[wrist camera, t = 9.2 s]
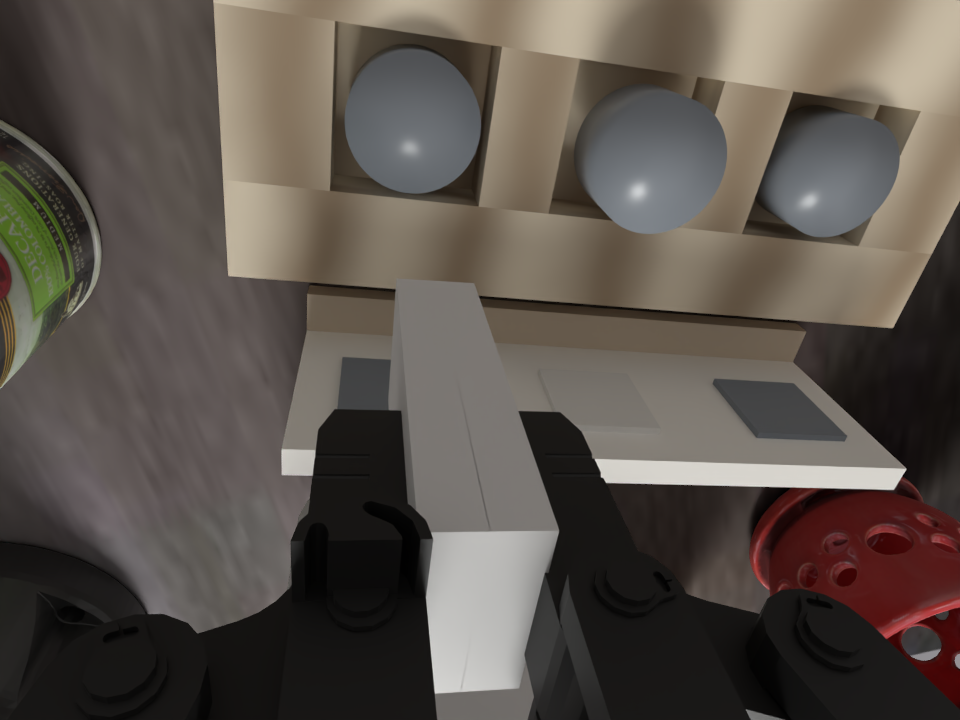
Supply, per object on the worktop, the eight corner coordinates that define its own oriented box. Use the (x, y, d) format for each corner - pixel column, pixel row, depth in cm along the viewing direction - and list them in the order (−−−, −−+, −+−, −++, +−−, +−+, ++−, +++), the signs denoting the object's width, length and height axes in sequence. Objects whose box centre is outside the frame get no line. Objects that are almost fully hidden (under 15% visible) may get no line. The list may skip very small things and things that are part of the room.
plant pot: (939, 434, 41) (1123, 585, 31) (874, 574, 48) (1007, 735, 38) (748, 450, 40) (875, 613, 30) (708, 592, 46) (800, 765, 36)
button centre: (562, 203, 27) (581, 227, 24) (589, 74, 24) (613, 86, 22) (672, 215, 28) (702, 239, 25) (709, 93, 25) (746, 105, 23)
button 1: (734, 210, 30) (766, 231, 28) (773, 98, 28) (812, 110, 25) (827, 220, 31) (866, 242, 29) (873, 112, 29) (921, 126, 26)
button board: (241, 249, 29) (228, 275, 26) (225, -132, 22) (205, -146, 20) (855, 302, 35) (892, 328, 32) (993, 15, 28) (1054, 18, 26)
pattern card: (308, 374, 33) (282, 513, 24) (309, 285, 30) (281, 405, 22) (763, 398, 38) (874, 521, 29) (796, 323, 35) (928, 433, 27)
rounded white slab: (278, 508, 37) (205, 880, 22) (360, 424, 35) (343, 774, 20) (594, 669, 50) (689, 979, 34) (670, 615, 47) (808, 921, 32)
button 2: (345, 166, 27) (342, 186, 24) (351, 34, 24) (347, 41, 22) (462, 179, 28) (471, 200, 25) (479, 53, 25) (490, 62, 23)
